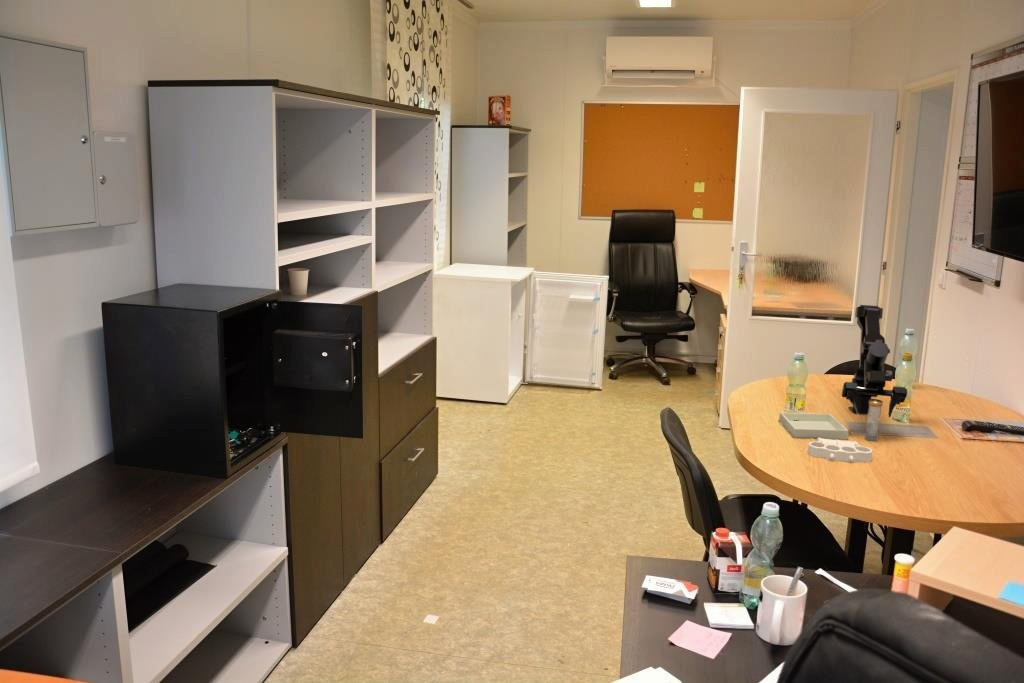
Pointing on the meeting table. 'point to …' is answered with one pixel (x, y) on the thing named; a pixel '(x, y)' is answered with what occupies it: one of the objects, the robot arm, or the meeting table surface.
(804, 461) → the meeting table surface
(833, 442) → the white brass knuckles
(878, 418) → the grey cylinder
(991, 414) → the meeting table surface
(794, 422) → the tray
